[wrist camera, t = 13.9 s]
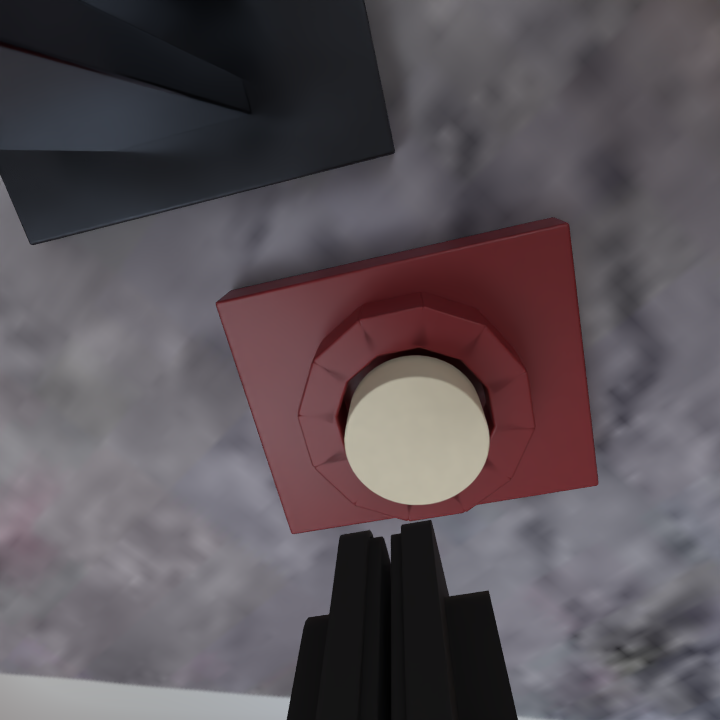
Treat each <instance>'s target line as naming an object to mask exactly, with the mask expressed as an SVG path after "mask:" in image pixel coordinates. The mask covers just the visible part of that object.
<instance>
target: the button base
mask: <svg viewBox="0 0 720 720" xmlns="http://www.w3.org/2000/svg"><path fill="white" fill-rule="evenodd" d="M216 307H217V310H218V313H219V316H220V319H221V322H222V325H223V328H224V331H225V334H226V337H227V340H228V343H229V346H230V349H231V352H232V355H233V358H234V361H235V364H236V367H237V370H238V373H239V376H240V379H241V382H242V385H243V388H244V391H245V394H246V397H247V400H248V403H249V406H250V409H251V412H252V415H253V418H254V421H255V424H256V427H257V431H258V434H259V437H260V440H261V443H262V446H263V449H264V452H265V455H266V458H267V461H268V464H269V467H270V470H271V473H272V476H273V479H274V482H275V485H276V488H277V491H278V494H279V497H280V500H281V503H282V506H283V509H284V512H285V515H286V518H287V521H288V524H289V527H290V530H291V533H292V534H297V533H303V532H309V531H316V530H322V529H328V528H334V527H341V526H347V525H353V524H359V523H366V522H372V521H378V520H384V519H391V518H398V519H402V520H405V521H408V520H409V521H415V520H421V519H427V518H434V517H440V516H446V515H453V514H459V513H464V512H465V511H466V512H467V511H468V510H470V509H471V508H473V507H474V506H475V505H478V504H484V503H491V502H497V501H503V500H510V499H516V498H522V497H528V496H535V495H541V494H547V493H553V492H560V491H566V490H572V489H578V488H585V487H591V486H597V485H598V474H597V465H596V457H595V448H594V439H593V430H592V421H591V413H590V404H589V395H588V386H587V377H586V368H585V360H584V351H583V342H582V333H581V324H580V315H579V307H578V298H577V289H576V280H575V271H574V262H573V254H572V245H571V236H570V227H569V224H568V223H567V222H564V221H562V220H559V219H557V218H554V217H551V218H547V219H542V220H538V221H534V222H529V223H525V224H520V225H516V226H512V227H507V228H503V229H498V230H494V231H490V232H485V233H481V234H477V235H472V236H468V237H463V238H459V239H455V240H450V241H446V242H441V243H437V244H433V245H428V246H424V247H419V248H415V249H411V250H406V251H402V252H398V253H393V254H389V255H384V256H380V257H376V258H371V259H367V260H362V261H358V262H354V263H349V264H345V265H340V266H336V267H332V268H327V269H323V270H319V271H314V272H310V273H305V274H301V275H297V276H292V277H288V278H283V279H279V280H275V281H270V282H266V283H261V284H257V285H253V286H248V287H244V288H240V289H235V290H231V291H230V292H228V293H227V294H226V295H225V296H223V297H222V298H221V299H220V300H218V301H217V302H216ZM410 355H421V356H429V357H433V358H437V359H440V360H442V361H445V362H447V363H449V364H451V365H453V366H454V367H456V368H457V369H458V370H460V371H461V372H462V373H463V374H464V375H465V376H466V377H467V378H468V379H469V381H470V382H471V383H472V385H473V386H474V388H475V390H476V392H477V394H478V397H479V400H480V403H481V406H482V409H483V412H484V415H485V418H486V421H487V425H488V429H489V436H490V445H489V452H488V456H487V459H486V462H485V464H484V466H483V468H482V470H481V472H480V473H479V475H478V476H477V478H476V479H475V480H474V481H473V482H472V483H471V484H470V485H469V486H468V487H467V488H466V489H464V490H463V491H462V492H460V493H458V494H457V495H455V496H453V497H451V498H449V499H447V500H444V501H441V502H437V503H433V504H426V505H409V504H402V503H397V502H394V501H391V500H388V499H385V498H383V497H381V496H379V495H377V494H376V493H374V492H373V491H371V490H370V489H369V488H368V487H366V486H365V485H364V484H363V483H362V482H361V481H360V480H359V478H358V477H357V476H356V474H355V473H354V472H353V470H352V468H351V466H350V464H349V462H348V459H347V456H346V451H345V443H344V437H345V429H346V424H347V418H348V413H349V408H350V404H351V400H352V397H353V394H354V392H355V390H356V388H357V386H358V385H359V383H360V382H361V381H362V379H363V378H364V377H365V376H366V375H367V374H368V373H369V372H370V371H371V370H373V369H374V368H375V367H377V366H379V365H380V364H382V363H384V362H386V361H389V360H391V359H394V358H398V357H402V356H410Z"/></svg>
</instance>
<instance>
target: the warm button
mask: <svg viewBox="0 0 720 720" xmlns="http://www.w3.org/2000/svg"><path fill="white" fill-rule="evenodd" d="M344 443H345V451H346V456H347V459H348V462H349V464H350V466H351V468H352V470H353V472H354V473H355V474H356V476H357V477H358V478H359V480H360V481H361V482H362V483H363V484H364V485H365V486H366V487H368V488H369V489H370V490H371V491H373V492H374V493H376V494H377V495H379V496H381V497H383V498H385V499H388V500H391V501H394V502H397V503H402V504H409V505H426V504H433V503H437V502H441V501H444V500H447V499H449V498H451V497H453V496H455V495H457V494H458V493H460V492H462V491H463V490H464V489H466V488H467V487H468V486H469V485H470V484H471V483H472V482H473V481H474V480H475V479H476V478H477V476H478V475H479V473H480V472H481V470H482V468H483V466H484V464H485V462H486V459H487V456H488V452H489V445H490V436H489V429H488V425H487V421H486V418H485V415H484V412H483V409H482V406H481V403H480V400H479V397H478V394H477V392H476V390H475V388H474V386H473V385H472V383H471V382H470V381H469V379H468V378H467V377H466V376H465V375H464V374H463V373H462V372H461V371H460V370H458V369H457V368H456V367H454V366H453V365H451V364H449V363H447V362H445V361H442V360H440V359H437V358H433V357H429V356H421V355H410V356H402V357H398V358H394V359H391V360H389V361H386V362H384V363H382V364H380V365H379V366H377V367H375V368H374V369H373V370H371V371H370V372H369V373H368V374H367V375H366V376H365V377H364V378H363V379H362V381H361V382H360V383H359V385H358V386H357V388H356V390H355V392H354V394H353V397H352V400H351V404H350V408H349V413H348V418H347V424H346V429H345V437H344Z"/></svg>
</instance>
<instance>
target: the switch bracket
mask: <svg viewBox="0 0 720 720" xmlns="http://www.w3.org/2000/svg"><path fill="white" fill-rule="evenodd" d="M394 153H395V148H394V143H393V139H392V134H391V129H390V124H389V119H388V114H387V109H386V104H385V99H384V95H383V90H382V85H381V80H380V75H379V70H378V65H377V60H376V55H375V50H374V46H373V41H372V36H371V31H370V26H369V21H368V16H367V11H366V6H365V2H364V0H0V175H1V177H2V179H3V182H4V184H5V186H6V189H7V191H8V193H9V196H10V198H11V200H12V203H13V205H14V207H15V210H16V212H17V214H18V217H19V219H20V221H21V224H22V226H23V228H24V231H25V233H26V236H27V238H28V240H29V243H30V244H31V245H36V244H40V243H44V242H48V241H52V240H56V239H60V238H64V237H68V236H72V235H76V234H80V233H83V232H87V231H91V230H95V229H99V228H103V227H107V226H111V225H115V224H119V223H123V222H127V221H131V220H135V219H139V218H143V217H147V216H151V215H155V214H158V213H162V212H166V211H170V210H174V209H178V208H182V207H186V206H190V205H194V204H198V203H202V202H206V201H210V200H214V199H218V198H222V197H226V196H229V195H233V194H237V193H241V192H245V191H249V190H253V189H257V188H261V187H265V186H269V185H273V184H277V183H281V182H285V181H289V180H293V179H297V178H301V177H304V176H308V175H312V174H316V173H320V172H324V171H328V170H332V169H336V168H340V167H344V166H348V165H352V164H356V163H360V162H364V161H368V160H372V159H375V158H379V157H383V156H387V155H391V154H394Z"/></svg>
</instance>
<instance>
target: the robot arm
mask: <svg viewBox="0 0 720 720" xmlns="http://www.w3.org/2000/svg"><path fill="white" fill-rule="evenodd" d="M287 720H518V718H517V714H516V709H515V705H514V700H513V696H512V692H511V687H510V683H509V678H508V674H507V670H506V665H505V661H504V656H503V652H502V647H501V643H500V639H499V634H498V630H497V625H496V621H495V616H494V612H493V608H492V603H491V599H490V594H489V591H483V592H476V593H469V594H463V595H456V596H449V594H448V589H447V585H446V581H445V576H444V572H443V568H442V563H441V559H440V555H439V550H438V546H437V542H436V537H435V533H434V529H433V525H432V521H431V520H428V521H422V522H416V523H410V524H404V525H402V526H401V533H400V534H394V535H391V562H390V559H389V555H388V551H387V547H386V544H385V540H384V538H383V537H376V538H373V534H372V532H371V531H370V530H368V531H362V532H356V533H350V534H344V535H341V536H340V539H339V545H338V553H337V560H336V568H335V576H334V583H333V591H332V598H331V606H330V613H329V615H322V616H315V617H309V618H308V619H307V620H306V621H305V625H304V629H303V634H302V639H301V645H300V650H299V656H298V661H297V666H296V672H295V677H294V683H293V688H292V694H291V699H290V705H289V710H288V716H287Z"/></svg>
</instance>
